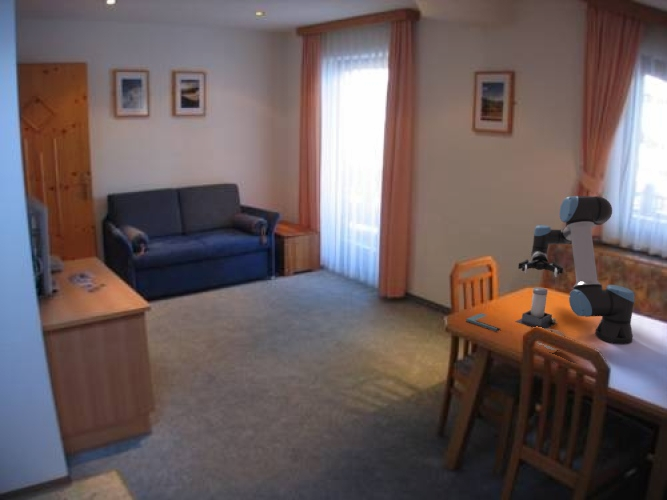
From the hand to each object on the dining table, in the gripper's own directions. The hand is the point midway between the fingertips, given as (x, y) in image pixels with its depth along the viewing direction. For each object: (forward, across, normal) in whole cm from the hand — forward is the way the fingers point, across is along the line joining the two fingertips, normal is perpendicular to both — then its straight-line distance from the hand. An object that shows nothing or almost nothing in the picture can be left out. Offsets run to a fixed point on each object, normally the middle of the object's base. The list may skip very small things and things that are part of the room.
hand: (540, 272), depth 297 cm
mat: (+15, +21, -22) cm, 34 cm away
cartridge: (+10, 0, -21) cm, 23 cm away
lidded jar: (+38, -5, -22) cm, 44 cm away
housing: (+10, 0, -22) cm, 25 cm away
